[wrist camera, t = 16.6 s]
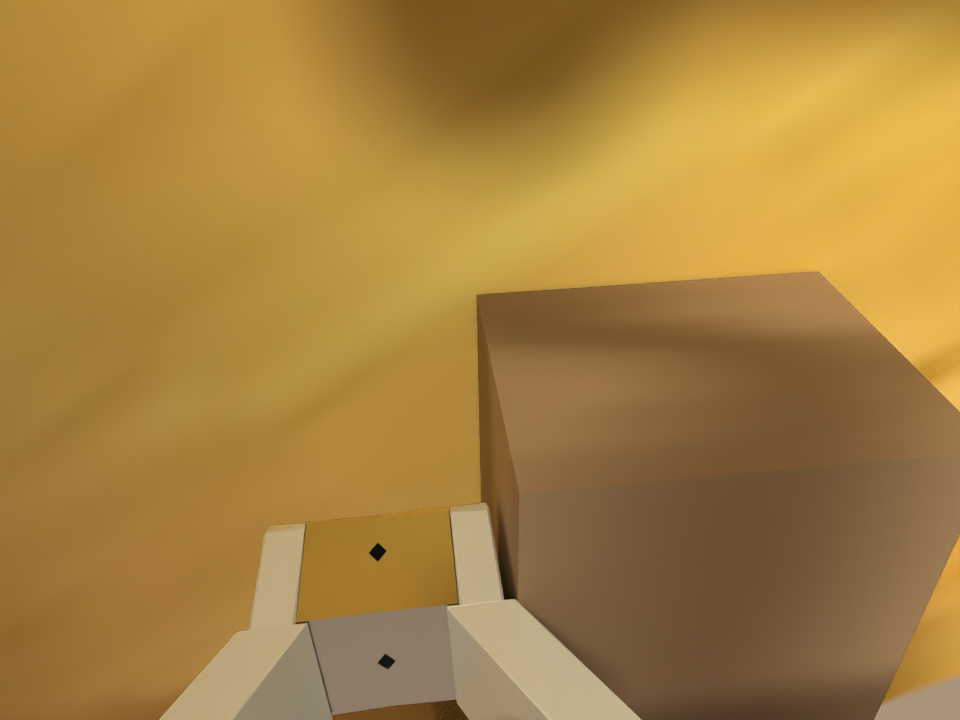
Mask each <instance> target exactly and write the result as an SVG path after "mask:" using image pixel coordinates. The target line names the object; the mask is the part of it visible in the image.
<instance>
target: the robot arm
mask: <svg viewBox="0 0 960 720" xmlns="http://www.w3.org/2000/svg"><path fill="white" fill-rule="evenodd" d="M447 700H457V704H458V705H459V707H460V708H461V709H462V711H463V712H464V713H465V715H466V716H467V717H468V719H469V720H641V719H640V718H639V717H638V716H637V715H636V714H635V713H634V712H633V711H632V710H631V709H630V708H629V707H628V706H627V705H626V704H625V703H624V702H623V701H622V700H621V699H620V698H619V697H617V696H616V695H615V694H614V693H613V692H612V691H611V690H610V689H609V688H608V687H607V686H606V685H605V684H604V683H603V682H602V681H601V680H600V679H599V678H598V677H597V676H596V675H595V674H593V673H592V672H591V671H590V670H589V669H588V668H587V667H586V666H585V665H584V664H583V663H582V662H581V661H580V660H579V659H578V658H577V657H576V656H575V655H574V654H573V653H572V652H571V651H570V650H568V649H567V648H566V647H565V646H564V645H563V644H562V643H561V642H560V641H559V640H558V639H557V638H556V637H555V636H554V635H553V634H552V633H551V632H550V631H549V630H548V629H547V628H546V627H545V626H543V625H542V624H541V623H540V622H539V621H538V620H537V619H536V618H535V617H534V616H533V615H532V614H531V613H530V612H529V611H528V610H527V609H526V608H525V607H524V606H523V605H522V604H521V603H519V602H518V601H517V600H516V599H507V600H504V595H503V589H502V583H501V577H500V571H499V565H498V559H497V553H496V547H495V541H494V535H493V529H492V523H491V517H490V511H489V507H488V506H487V504H486V503H478V504H470V505H461V506H453V507H450V509H448V507H446V508H437V509H429V510H420V511H412V512H404V513H395V514H387V515H378V516H372V517H360V518H348V519H337V520H325V521H313V522H308V523H300V524H287V525H275V526H269V528H268V529H267V531H266V533H265V535H264V540H263V546H262V552H261V558H260V564H259V570H258V576H257V582H256V588H255V594H254V600H253V606H252V612H251V618H250V624H249V630H243V631H237V632H236V633H235V634H234V635H233V636H232V637H231V638H230V640H229V641H228V642H227V643H226V644H225V645H224V646H223V648H222V649H221V650H220V651H219V652H218V653H217V654H216V655H215V657H214V658H213V659H212V660H211V661H210V662H209V663H208V665H207V666H206V667H205V668H204V669H203V670H202V671H201V672H200V674H199V675H198V676H197V677H196V678H195V679H194V680H193V681H192V683H191V684H190V685H189V686H188V687H187V688H186V689H185V691H184V692H183V693H182V694H181V695H180V696H179V697H178V698H177V700H176V701H175V702H174V703H173V704H172V705H171V706H170V707H169V709H168V710H167V711H166V712H165V713H164V714H163V715H162V717H161V718H160V719H159V720H332V716H331V715H336V714H342V713H349V712H356V711H362V710H369V709H375V708H382V707H388V706H395V705H406V704H416V703H426V702H436V701H447Z"/></svg>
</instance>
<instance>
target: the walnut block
mask: <svg viewBox="0 0 960 720" xmlns="http://www.w3.org/2000/svg"><path fill="white" fill-rule="evenodd" d="M477 329H478V375H479V420H480V466H481V503H486V504H487V506H488V507H489V511H490V517H491V523H492V529H493V535H494V541H495V547H496V553H497V559H498V565H499V571H500V577H501V583H502V589H503V595H504V600H507V599H516V600H517V601H518V602H519V603H521V604H522V605H523V606H524V607H525V608H526V609H527V610H528V611H529V612H530V613H531V614H532V615H533V616H534V617H535V618H536V619H537V620H538V621H539V622H540V623H541V624H542V625H543V626H545V627H546V628H547V629H548V630H549V631H550V632H551V633H552V634H553V635H554V636H555V637H556V638H557V639H558V640H559V641H560V642H561V643H562V644H563V645H564V646H565V647H566V648H567V649H568V650H570V651H571V652H572V653H573V654H574V655H575V656H576V657H577V658H578V659H579V660H580V661H581V662H582V663H583V664H584V665H585V666H586V667H587V668H588V669H589V670H590V671H591V672H592V673H593V674H595V675H596V676H597V677H598V678H599V679H600V680H601V681H602V682H603V683H604V684H605V685H606V686H607V687H608V688H609V689H610V690H611V691H612V692H613V693H614V694H615V695H616V696H617V697H619V698H620V699H621V700H622V701H623V702H624V703H625V704H626V705H627V706H628V707H629V708H630V709H631V710H632V711H633V712H634V713H635V714H636V715H637V716H638V717H639V718H640V719H641V720H874V718H875V716H876V714H877V712H878V710H879V708H880V705H881V703H882V701H883V699H884V697H885V695H886V692H887V690H888V688H889V686H890V684H891V682H892V680H893V677H894V675H895V673H896V671H897V669H898V667H899V664H900V662H901V660H902V658H903V656H904V654H905V652H906V649H907V647H908V645H909V643H910V641H911V639H912V636H913V634H914V632H915V630H916V628H917V626H918V623H919V621H920V619H921V617H922V615H923V613H924V611H925V608H926V606H927V604H928V602H929V600H930V598H931V595H932V593H933V591H934V589H935V587H936V585H937V583H938V580H939V578H940V576H941V574H942V572H943V570H944V567H945V565H946V563H947V561H948V559H949V557H950V555H951V552H952V550H953V548H954V546H955V544H956V542H957V539H958V537H959V535H960V412H959V411H958V410H957V409H956V408H955V407H954V406H953V405H952V404H951V403H950V402H949V401H948V400H947V399H946V398H945V397H944V396H943V395H942V394H941V393H940V392H939V391H938V390H937V389H936V388H935V387H934V386H933V385H932V384H931V383H930V382H929V381H928V380H927V379H926V378H925V377H924V376H923V375H922V374H921V373H920V372H919V371H918V370H917V369H916V368H915V367H914V366H913V365H912V364H911V363H910V362H909V361H908V360H907V359H906V358H905V357H904V356H903V355H902V354H901V353H900V352H899V351H898V350H897V349H896V348H895V347H894V346H893V345H892V344H891V343H890V342H889V341H888V340H887V339H886V338H885V337H884V336H883V335H882V334H881V333H880V332H879V331H878V330H877V329H876V328H875V327H874V326H873V325H872V324H871V323H870V322H869V321H868V320H867V319H866V318H865V317H864V316H863V315H862V314H861V313H860V312H859V311H858V310H857V309H856V308H855V307H854V306H853V305H852V304H851V303H850V302H849V301H848V300H847V299H846V298H845V297H844V296H843V295H842V294H841V293H840V292H839V291H838V290H837V289H836V288H835V287H834V286H833V285H832V284H831V283H830V282H828V281H827V280H826V279H825V278H824V277H823V276H822V275H821V274H820V273H819V272H807V273H792V274H777V275H763V276H748V277H733V278H719V279H704V280H689V281H675V282H660V283H645V284H630V285H616V286H601V287H586V288H572V289H557V290H542V291H528V292H513V293H498V294H484V295H477Z"/></svg>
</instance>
